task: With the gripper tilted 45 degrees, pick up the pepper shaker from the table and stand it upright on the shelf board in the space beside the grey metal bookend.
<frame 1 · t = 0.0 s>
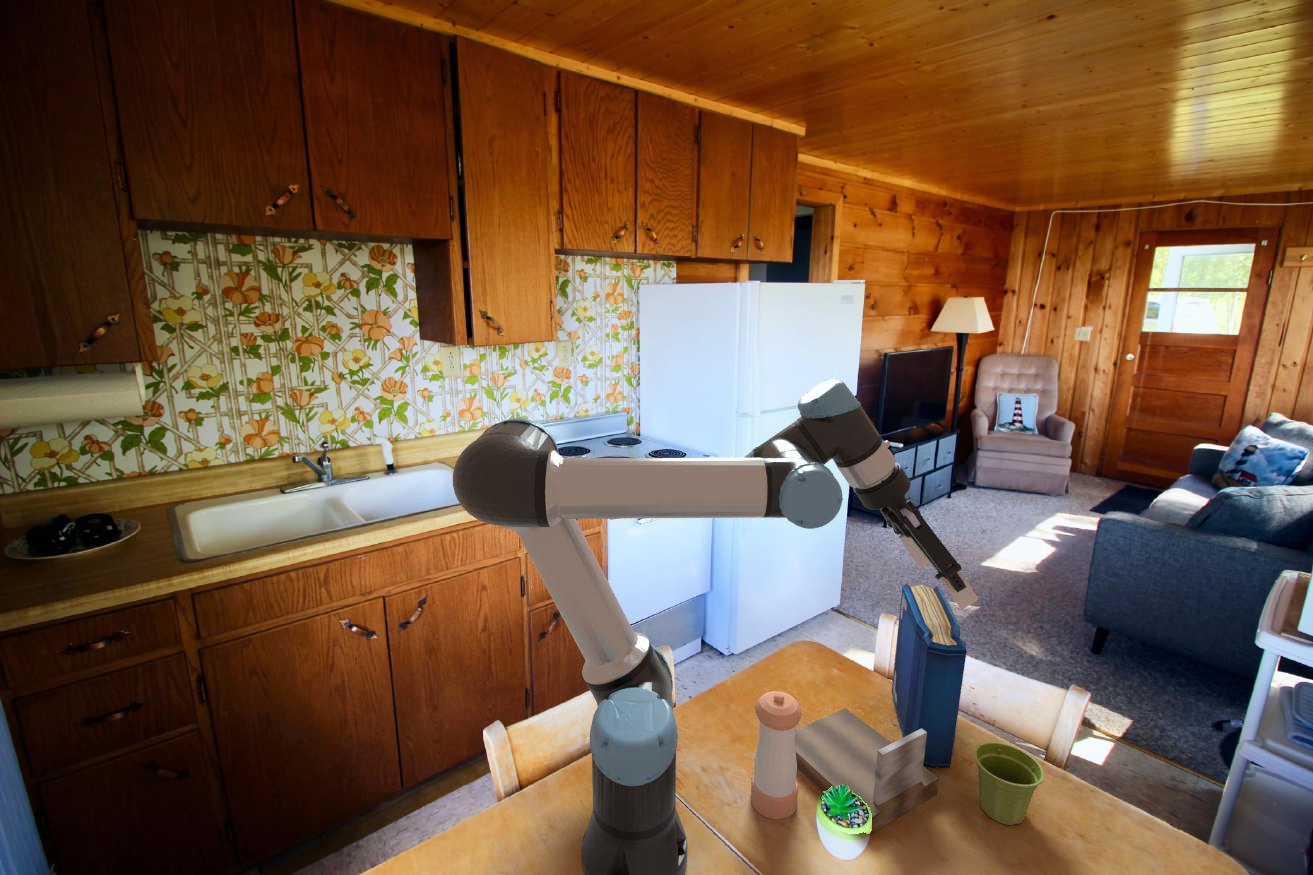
hand: (946, 582, 94), 36 cm above the table, tool tilted 35°, fingers open, 13 cm apart
book: (919, 733, 114), on the table
shelf board: (854, 771, 104), on the table
plant pot: (1001, 811, 96), on the table
pepper shaker: (773, 801, 98), on the table
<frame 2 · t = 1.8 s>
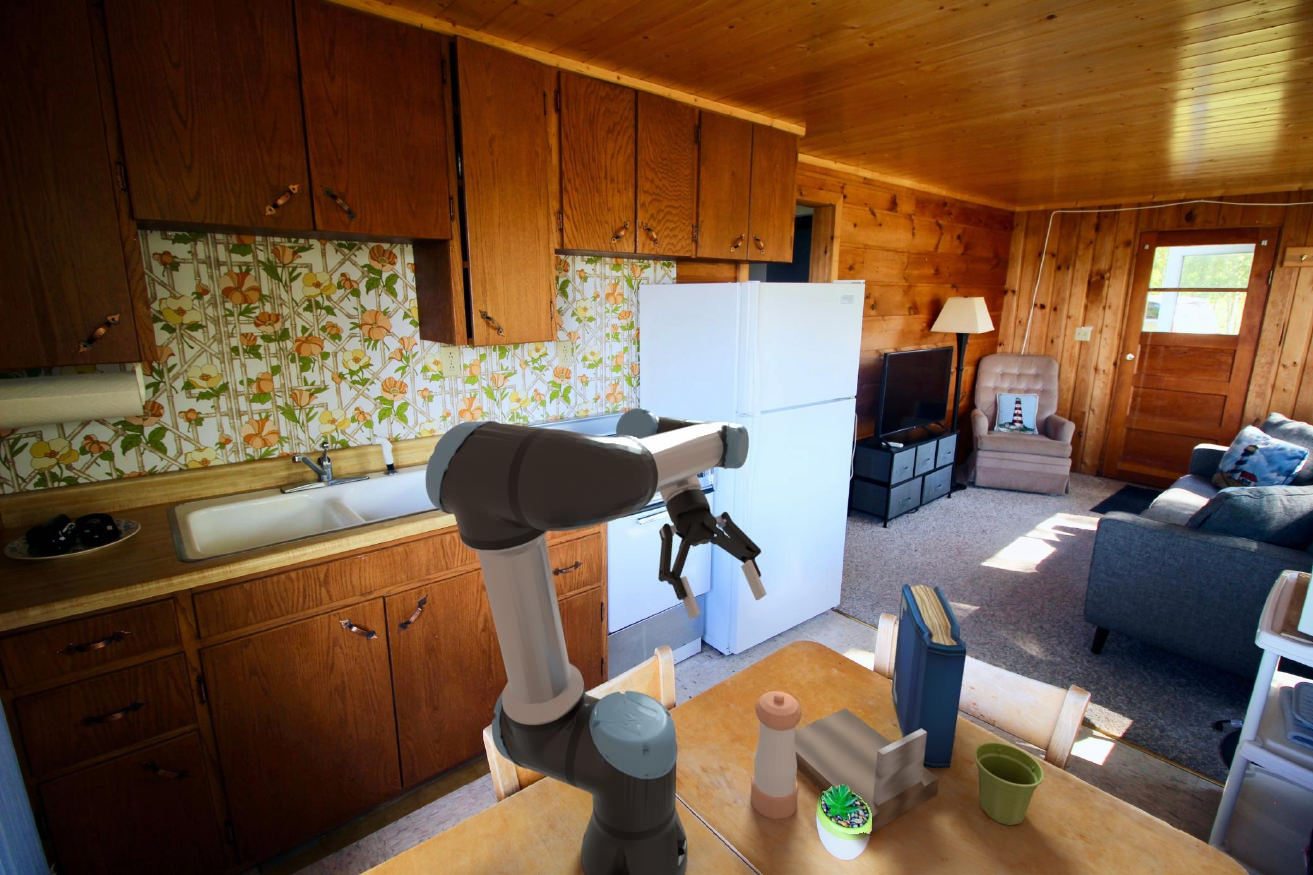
hand: (729, 606, 104), 28 cm above the table, tool tilted 45°, fingers open, 13 cm apart
nothing on the table moved.
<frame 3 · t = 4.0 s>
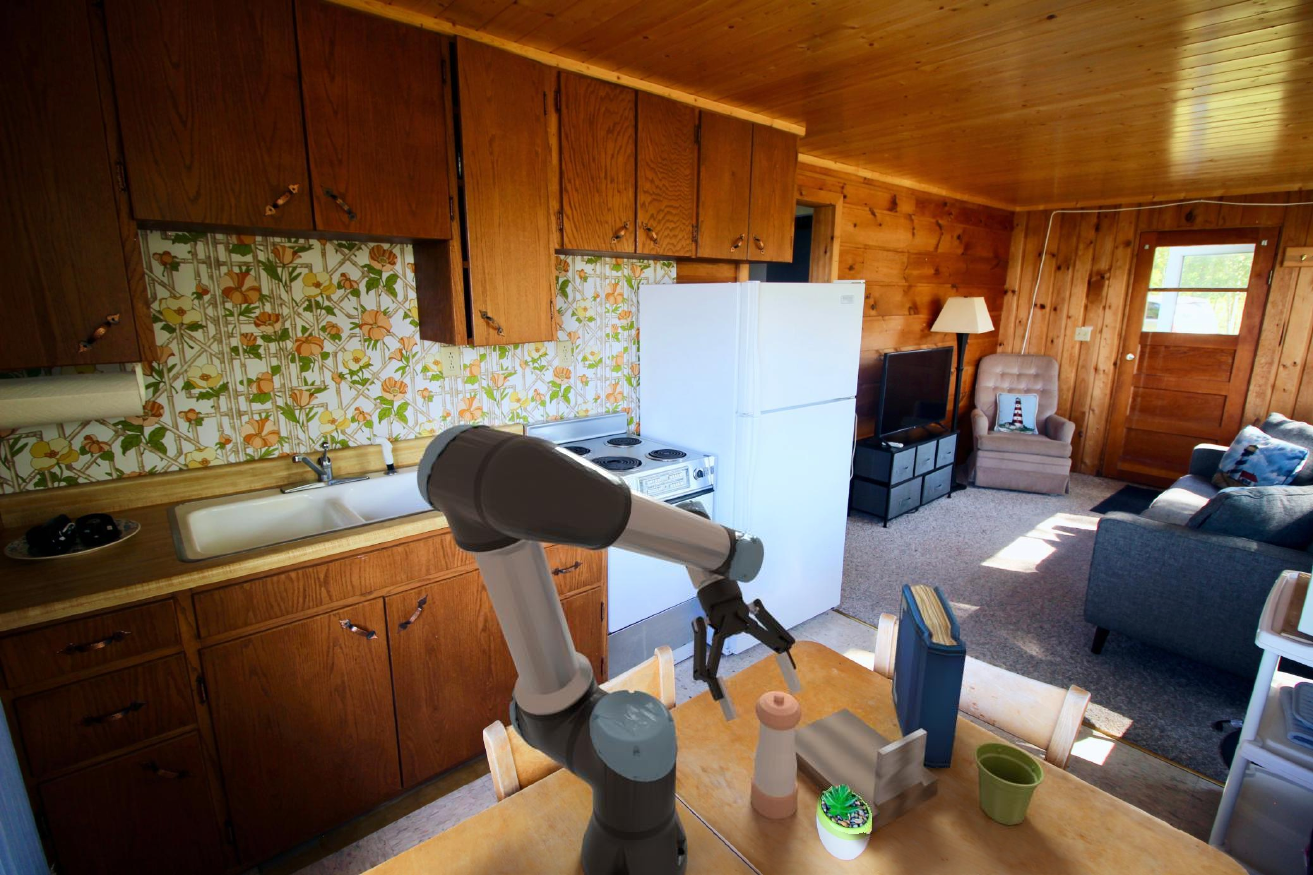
hand: (766, 705, 100), 14 cm above the table, tool tilted 45°, fingers open, 13 cm apart
nothing on the table moved.
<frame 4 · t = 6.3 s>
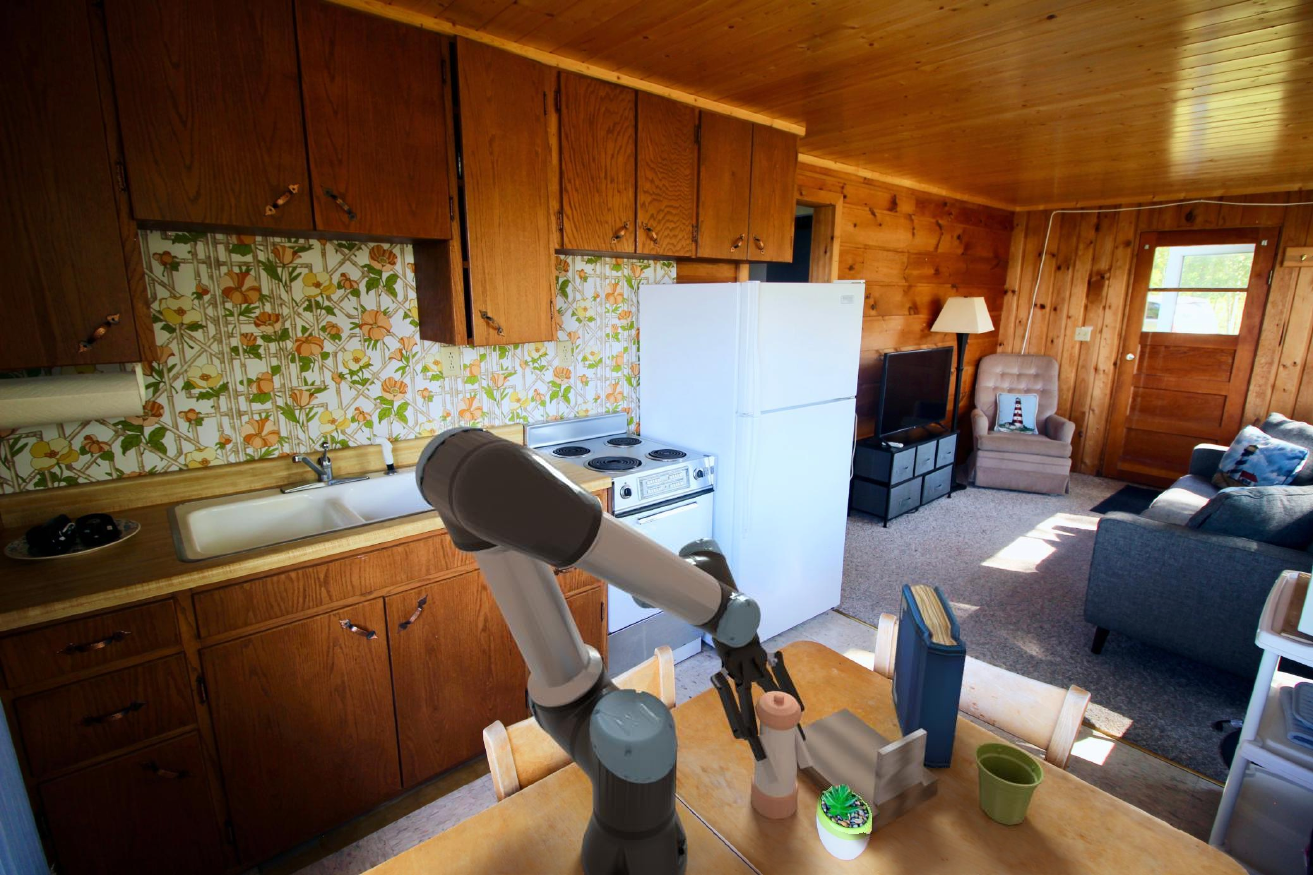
hand: (791, 773, 93), 8 cm above the table, tool tilted 45°, fingers closed on pepper shaker, 5 cm apart
pepper shaker: (773, 801, 98), on the table, touching gripper
everything else where it was.
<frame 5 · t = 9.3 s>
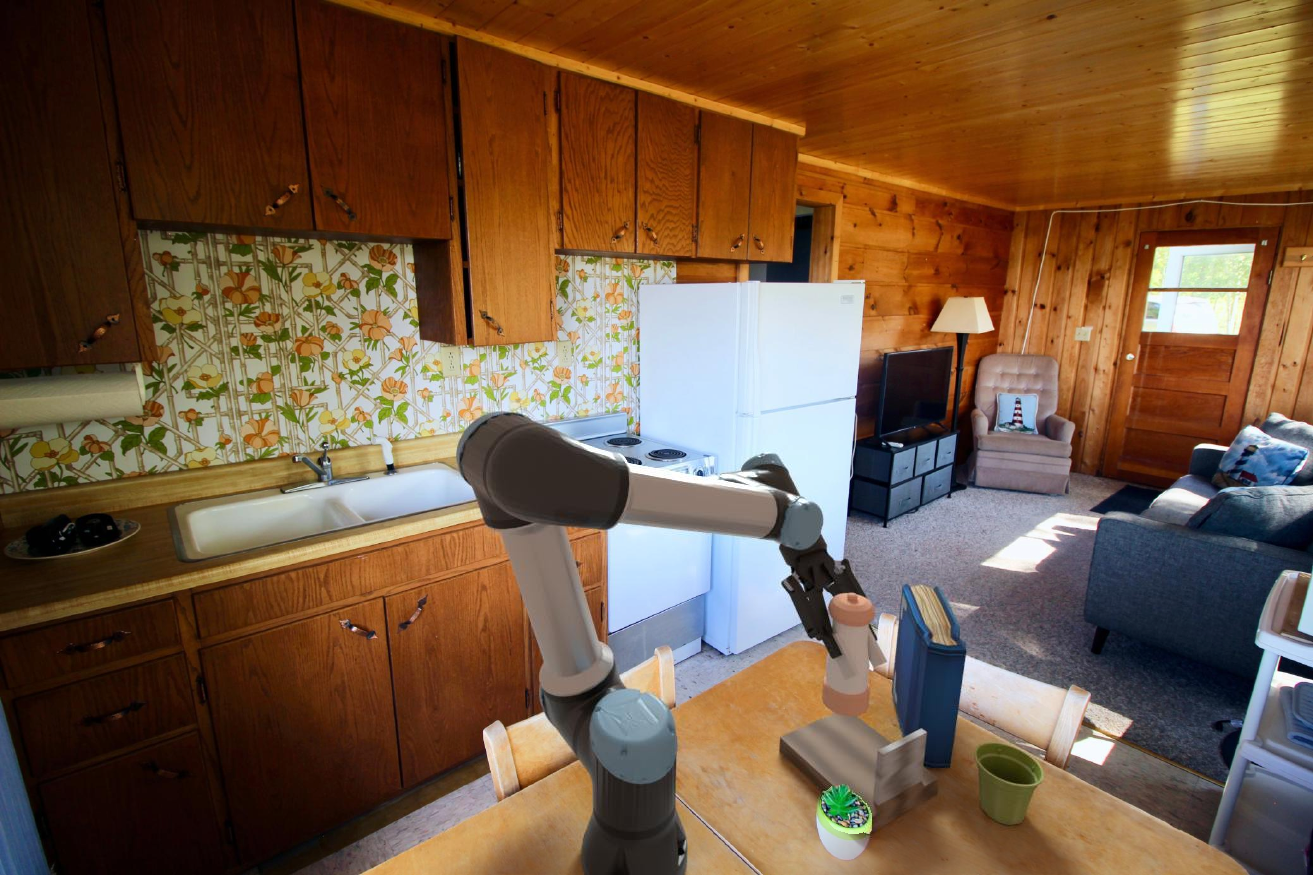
hand: (866, 670, 95), 22 cm above the table, tool tilted 45°, fingers closed on pepper shaker, 5 cm apart
pepper shaker: (845, 702, 100), point 14 cm above the table, touching gripper
everything else where it was.
when the fingers open (12 cm above the table, at t = 12.2 s): pepper shaker drops 1 cm, resting on shelf board.
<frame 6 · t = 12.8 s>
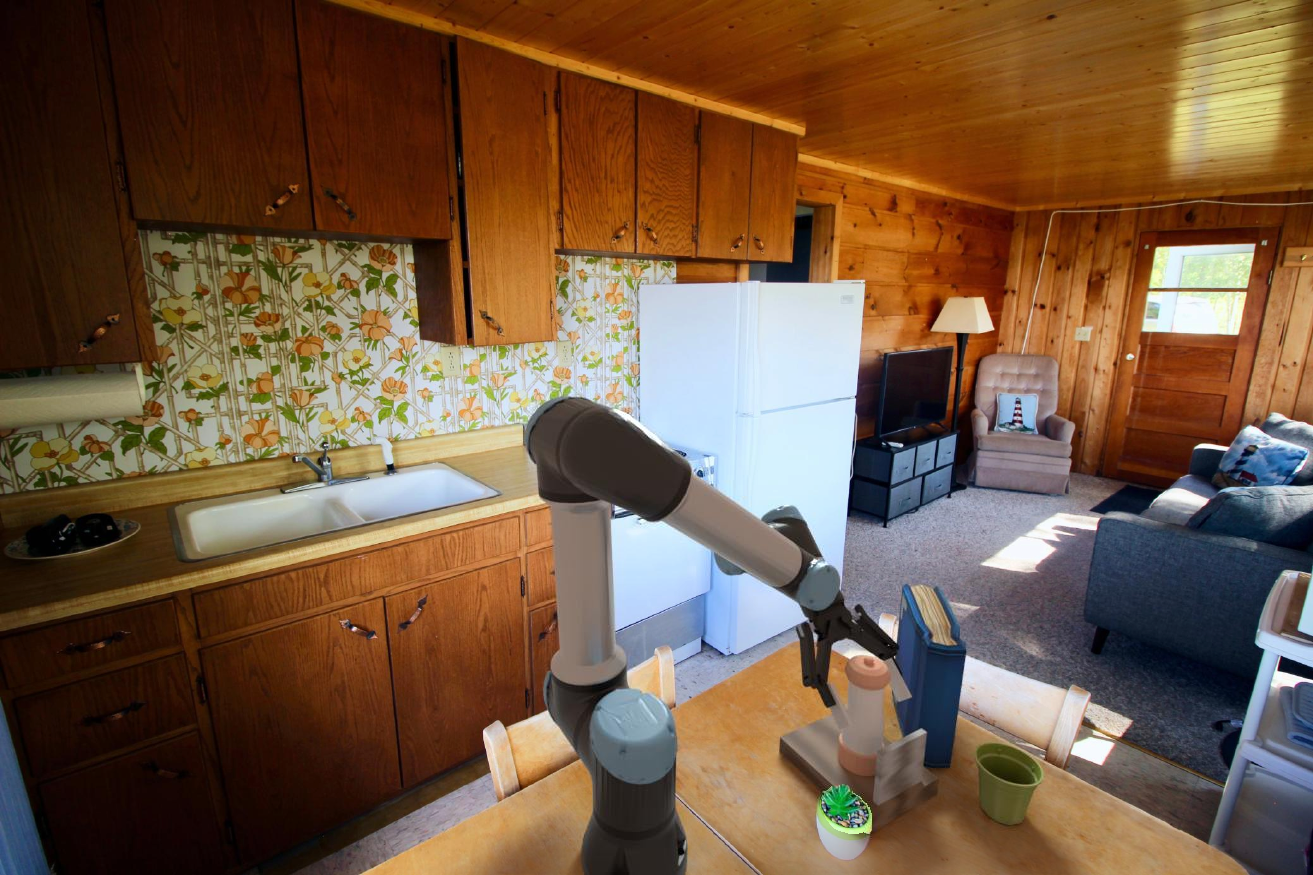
hand: (876, 713, 98), 14 cm above the table, tool tilted 45°, fingers open, 13 cm apart
pepper shaker: (859, 761, 103), point 3 cm above the table, touching shelf board
everything else where it was.
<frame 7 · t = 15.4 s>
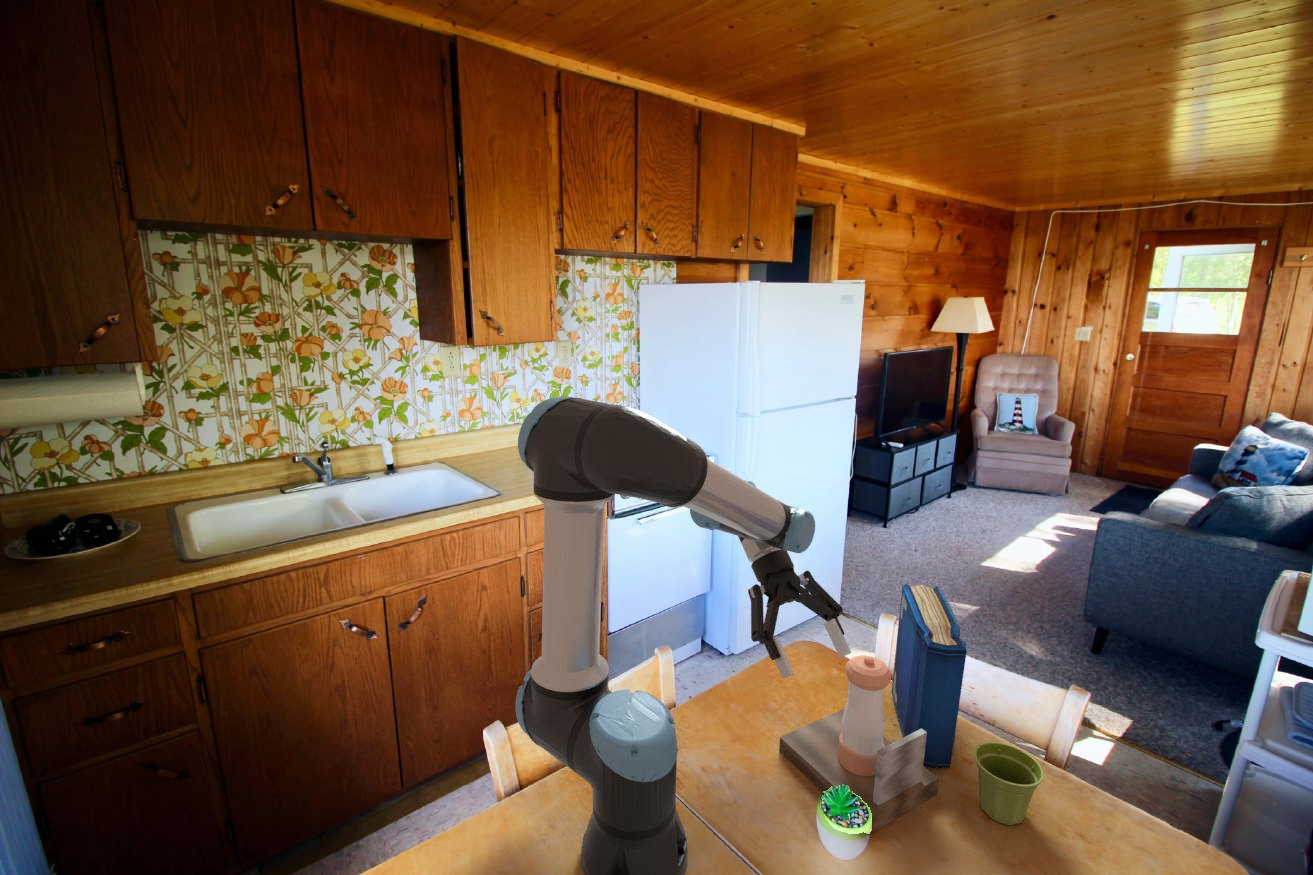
hand: (818, 665, 109), 15 cm above the table, tool tilted 45°, fingers open, 13 cm apart
nothing on the table moved.
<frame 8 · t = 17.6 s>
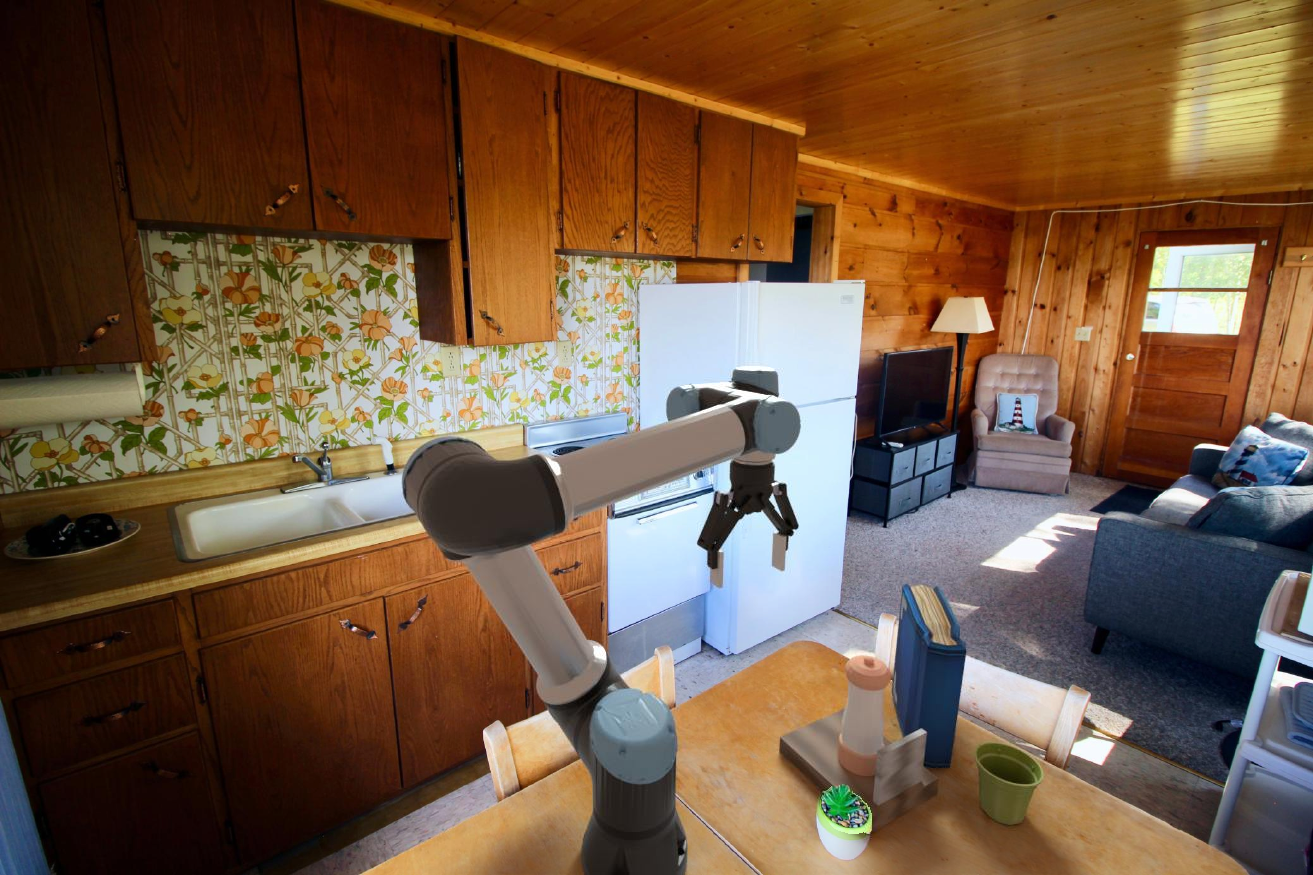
hand: (748, 576, 108), 31 cm above the table, tool pointing down, fingers open, 13 cm apart
nothing on the table moved.
at the end: pepper shaker inside the target area on the shelf board (0.4 cm from its centre), point 2.8 cm above the shelf board's base; pepper shaker tilted 0°; the gripper is holding nothing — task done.
